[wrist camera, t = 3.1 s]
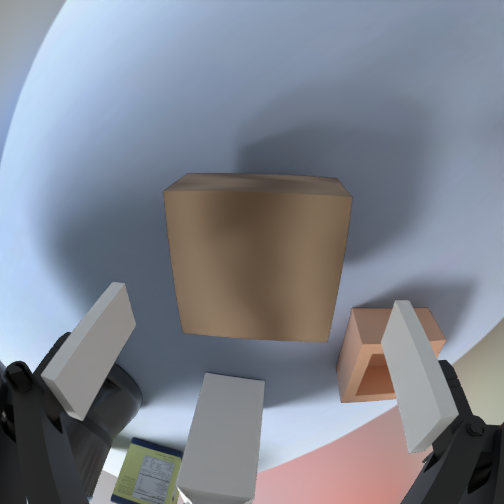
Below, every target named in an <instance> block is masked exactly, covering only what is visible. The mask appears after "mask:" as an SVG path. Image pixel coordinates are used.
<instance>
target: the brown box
mask: <svg viewBox="0 0 504 504" xmlns="http://www.w3.org/2000/svg"><path fill="white" fill-rule="evenodd" d="M163 193H164V204H165V214H166V224H167V232H168V241H169V249H170V257H171V264H172V271H173V278H174V285H175V291H176V298H177V304H178V310H179V316H180V321H181V327H182V332H183V333H188V334H197V335H207V336H218V337H230V338H243V339H258V340H277V341H304V342H328V337H329V333H330V329H331V324H332V319H333V315H334V310H335V305H336V300H337V295H338V289H339V284H340V278H341V273H342V267H343V261H344V255H345V249H346V242H347V235H348V228H349V221H350V213H351V205H352V196H351V195H350V194H349V192H348V191H347V190H346V189H345V187H344V186H343V185H342V184H341V182H340V181H339V180H338V179H337V178H328V177H314V176H297V175H275V174H238V173H192V174H186V175H185V176H183V177H182V178H180V179H179V180H178V181H176V182H175V183H174V184H172V185H171V186H170V187H168V188H167V189H166V190H164V191H163Z"/></svg>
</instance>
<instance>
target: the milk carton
mask: <svg viewBox="0 0 504 504" xmlns="http://www.w3.org/2000/svg"><path fill="white" fill-rule="evenodd" d="M264 389H265V381H262V380H253V379H246V378H238V377H231V376H224V375H218V374H212V373H205V375H204V379H203V383H202V387H201V390H200V394H199V398H198V402H197V405H196V409H195V413H194V417H193V420H192V424H191V428H190V432H189V436H188V440H187V443H186V447H185V451H184V455H183V459H182V463H181V467H180V471H179V475H178V479H177V483H176V486H177V488H178V490H179V492H180V494H181V497H182V498H183V500H184V502H185V503H184V504H252V502H253V500H254V496H255V486H256V477H257V467H258V457H259V446H260V435H261V424H262V413H263V401H264Z"/></svg>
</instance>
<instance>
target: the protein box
mask: <svg viewBox="0 0 504 504" xmlns="http://www.w3.org/2000/svg"><path fill="white" fill-rule="evenodd" d="M182 459H183V453H182V452H181V451H177V450H173V449H169V448H166V447H162V446H158V445H155V444H152V443H148V442H145V441H142V440H139V439H136V438H132V441H131V444H130V446H129V449H128V451H127V454H126V457H125V460H124V462H123V465H122V468H121V471H120V474H119V477H118V480H117V482H116V485H115V488H114V491H113V494H112V496H111V502H113V503H114V504H177V501H178V497H179V490H178V488H177V486H176V483H177V479H178V475H179V471H180V467H181V463H182Z"/></svg>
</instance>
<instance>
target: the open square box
mask: <svg viewBox="0 0 504 504" xmlns="http://www.w3.org/2000/svg"><path fill="white" fill-rule="evenodd" d="M392 309H393V308H352V310H351V314H350V318H349V322H348V326H347V330H346V334H345V337H344V341H343V345H342V348H341V352H340V355H339V359H338V362H337V366H336V372H337V379H338V386H339V393H340V401H341V403H349V402H367V401H380V400H390V399H396V395H395V391H394V387H393V383H392V380H391V376H390V372H389V369H388V365H387V362H386V358H385V355H384V352H383V348H382V345H381V340H382V338H383V335H384V332H385V329H386V326H387V324H388V321H389V318H390V315H391V312H392ZM413 309H414V311H415V313H416V315H417V317H418V319H419V321H420V323H421V325H422V327H423V329H424V331H425V333H426V336H427V338H428V340H429V342H430V344H431V346H432V349H433V351H434V353H435V355H436V358H437V357H438V355H439V353H440V351H441V349H442V347H443V345H444V343H445V341H446V338H445V337H444V335H443V333H442V331H441V329H440V327H439V326H438V324H437V322H436V320H435V319H434V317H433V315H432V313H431V312H430V310H429V308H413Z"/></svg>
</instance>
